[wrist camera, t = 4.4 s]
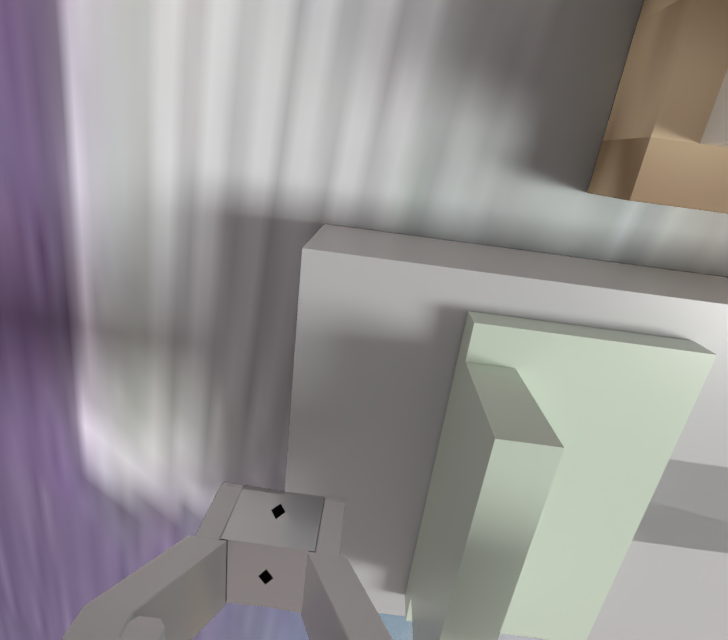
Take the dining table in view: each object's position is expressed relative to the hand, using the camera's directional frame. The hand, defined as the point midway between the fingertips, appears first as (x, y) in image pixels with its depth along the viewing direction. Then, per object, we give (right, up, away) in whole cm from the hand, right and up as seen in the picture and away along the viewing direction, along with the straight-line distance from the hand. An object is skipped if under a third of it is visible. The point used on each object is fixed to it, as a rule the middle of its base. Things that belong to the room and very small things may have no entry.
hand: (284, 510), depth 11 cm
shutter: (+7, 0, +2) cm, 7 cm away
